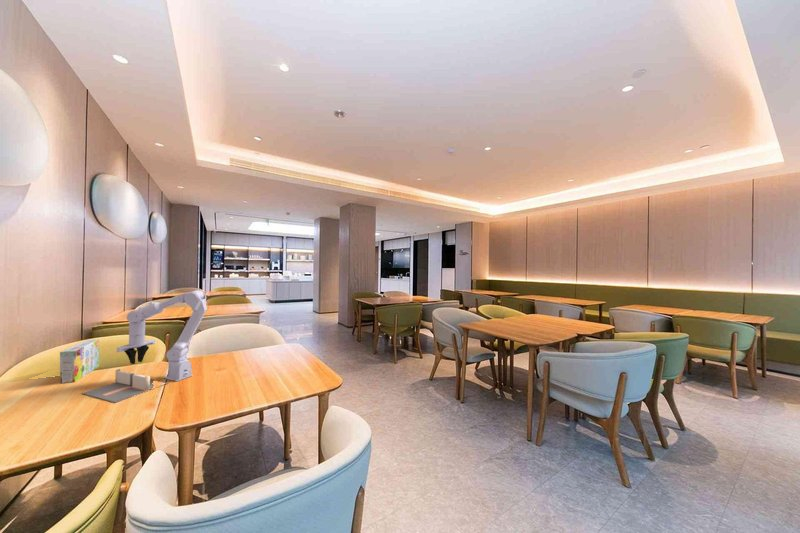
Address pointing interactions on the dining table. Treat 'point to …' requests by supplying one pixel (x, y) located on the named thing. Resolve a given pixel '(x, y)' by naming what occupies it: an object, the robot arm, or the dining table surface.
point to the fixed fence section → (141, 381)
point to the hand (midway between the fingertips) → (136, 362)
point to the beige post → (124, 377)
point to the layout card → (116, 391)
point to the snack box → (79, 360)
